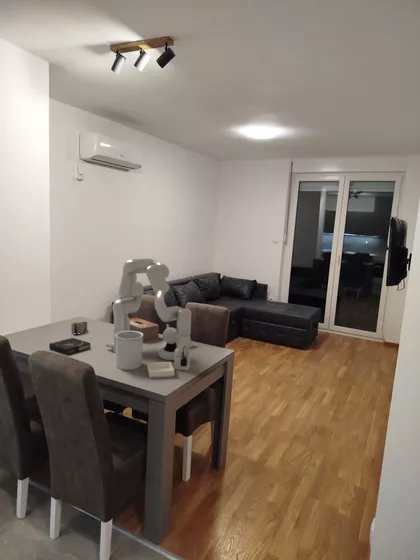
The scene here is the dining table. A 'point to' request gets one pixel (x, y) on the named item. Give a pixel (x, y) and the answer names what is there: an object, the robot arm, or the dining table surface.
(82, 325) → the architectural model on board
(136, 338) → the utensil holder
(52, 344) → the flat black printed box
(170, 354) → the decorative figurine
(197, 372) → the dining table surface
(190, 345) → the white and black block
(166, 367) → the tray
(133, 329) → the tissue box cover
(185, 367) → the small box
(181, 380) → the dining table surface
